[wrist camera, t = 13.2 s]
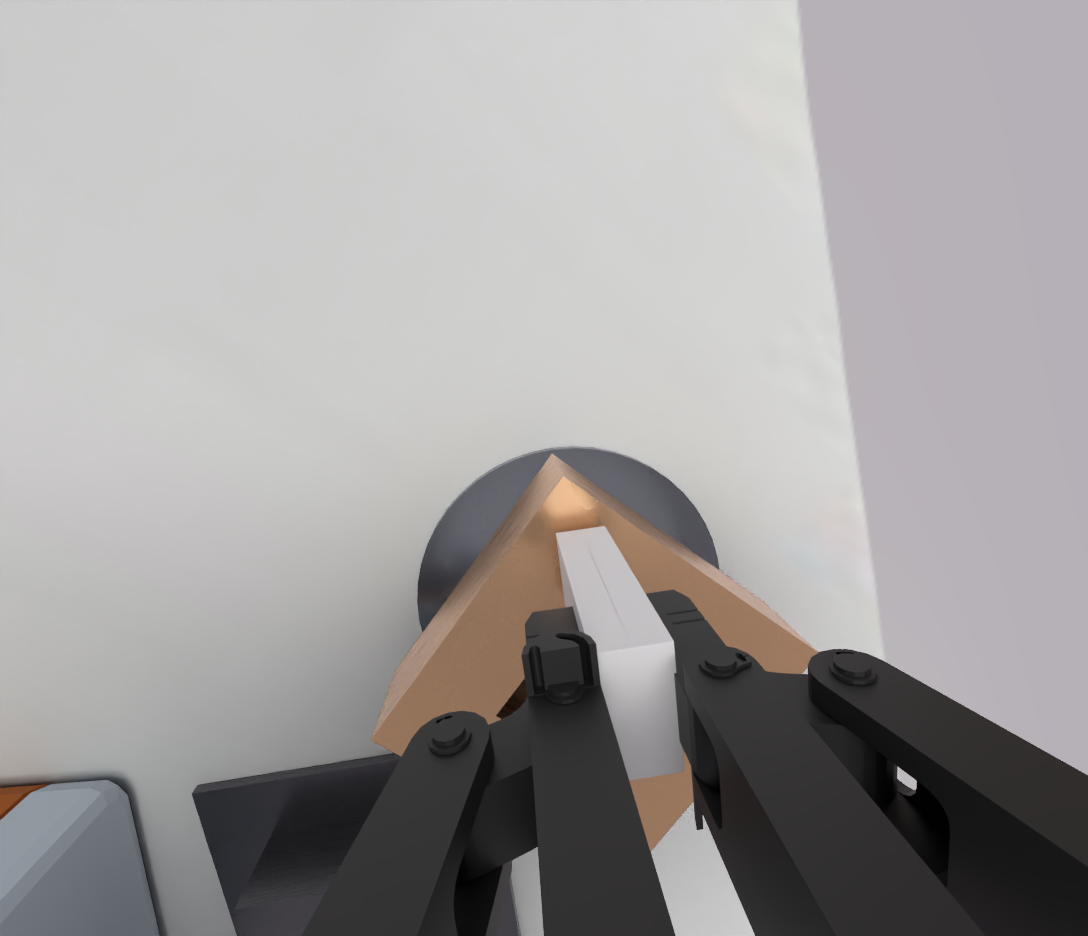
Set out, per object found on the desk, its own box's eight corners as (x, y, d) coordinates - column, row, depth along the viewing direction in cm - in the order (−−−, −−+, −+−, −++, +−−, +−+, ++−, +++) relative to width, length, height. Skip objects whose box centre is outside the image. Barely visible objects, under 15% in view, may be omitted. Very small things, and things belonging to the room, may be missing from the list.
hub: (446, 745, 26) (415, 947, 17) (393, 469, 23) (321, 539, 14) (723, 700, 26) (833, 872, 17) (706, 426, 23) (829, 466, 14)
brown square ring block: (395, 670, 21) (370, 740, 17) (551, 453, 20) (563, 476, 16) (607, 790, 23) (627, 878, 19) (763, 600, 22) (819, 653, 18)
